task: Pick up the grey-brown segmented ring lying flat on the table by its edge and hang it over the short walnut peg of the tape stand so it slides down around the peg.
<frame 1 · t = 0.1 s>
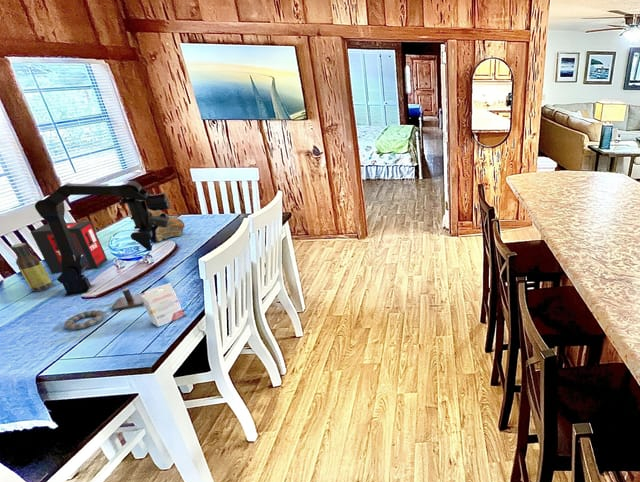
hand: (152, 246, 165), 15 cm above the table, tool pointing down, fingers open, 9 cm apart
rough brown rock: (168, 236, 211), on the table
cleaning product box: (80, 267, 178), on the table
sauce bottle: (42, 288, 161), on the table
ink cartridge box: (168, 320, 143), on the table
grey-brown segmented ring: (85, 319, 140), point 1 cm above the table
tape stand: (131, 302, 152), on the table
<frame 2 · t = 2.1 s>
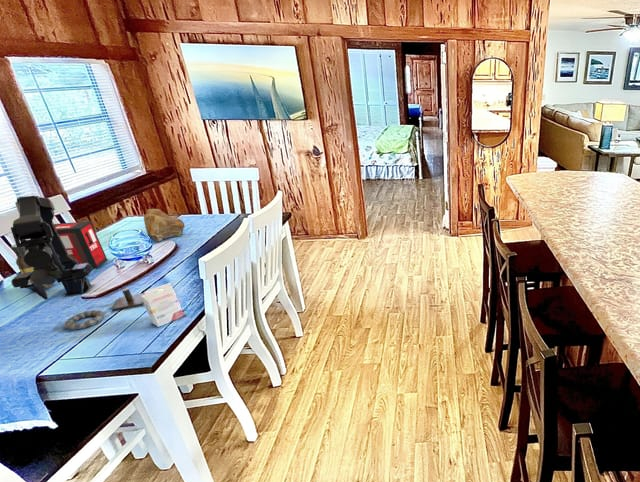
hand: (64, 296, 136), 11 cm above the table, tool pointing down, fingers open, 9 cm apart
nothing on the table moved.
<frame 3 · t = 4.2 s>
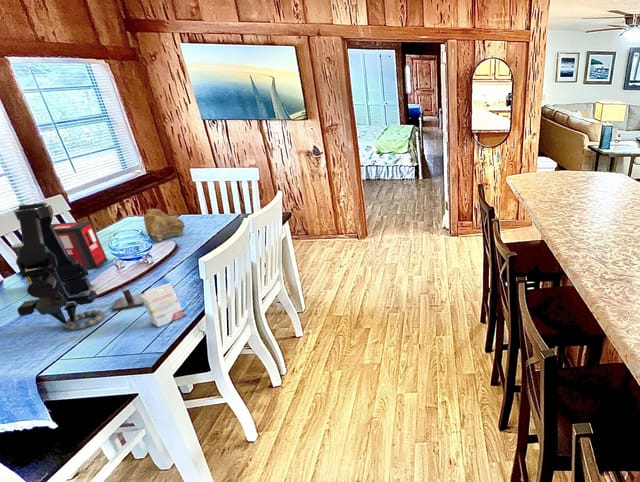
hand: (69, 322, 138), 1 cm above the table, tool pointing down, fingers closed on grey-brown segmented ring, 2 cm apart
grey-brown segmented ring: (85, 319, 140), point 1 cm above the table, touching gripper
everything else where it was.
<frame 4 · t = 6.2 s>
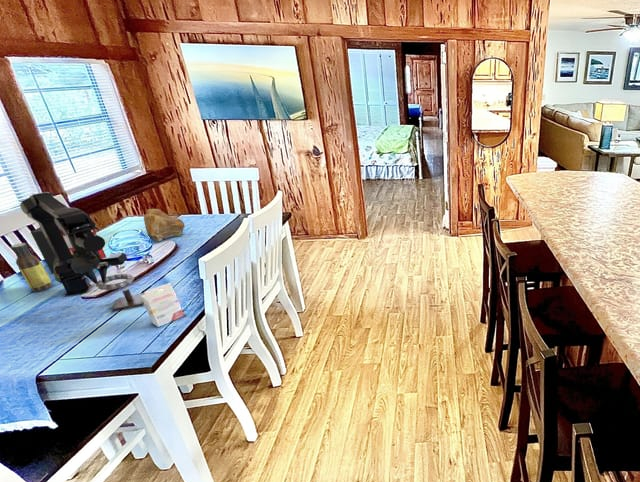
hand: (100, 283, 144), 11 cm above the table, tool pointing down, fingers closed on grey-brown segmented ring
grey-brown segmented ring: (115, 281, 146), point 10 cm above the table, touching gripper
everything else where it was.
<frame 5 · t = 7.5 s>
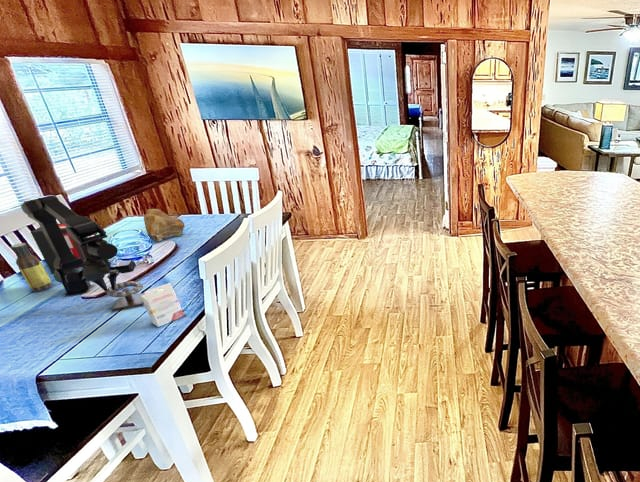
hand: (110, 290, 148), 7 cm above the table, tool pointing down, fingers closed on grey-brown segmented ring
grey-brown segmented ring: (125, 289, 150), point 6 cm above the table, tilted 7°, touching gripper
everything else where it was.
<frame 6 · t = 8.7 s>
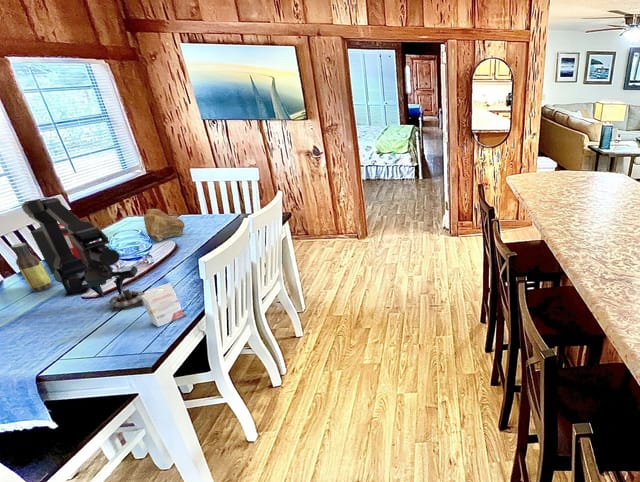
hand: (112, 295, 149), 5 cm above the table, tool pointing down, fingers open, 5 cm apart
grey-brown segmented ring: (127, 298, 151), point 2 cm above the table, touching tape stand
everything else where it was.
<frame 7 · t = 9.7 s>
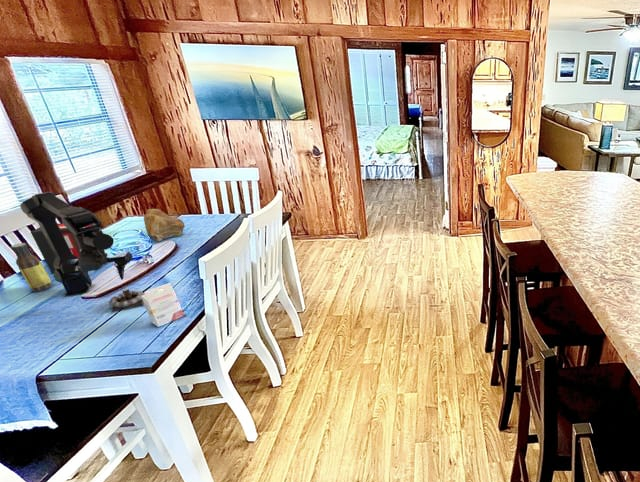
hand: (106, 281, 146), 10 cm above the table, tool pointing down, fingers open, 9 cm apart
nothing on the table moved.
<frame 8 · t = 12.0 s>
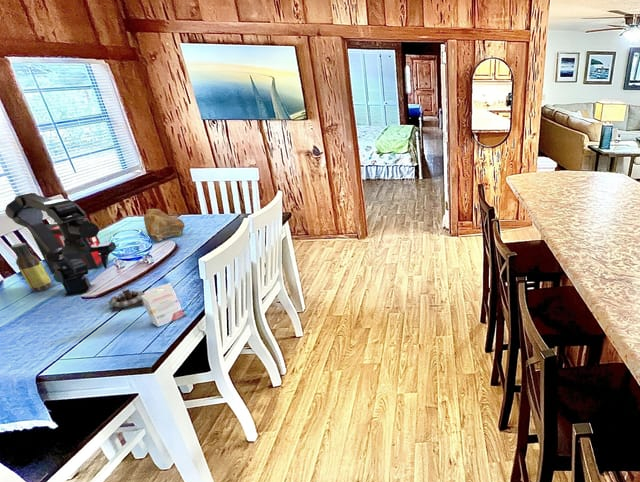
hand: (90, 270, 151), 12 cm above the table, tool pointing down, fingers open, 9 cm apart
nothing on the table moved.
at the end: grey-brown segmented ring 0.6 cm from the tape stand (horizontally); grey-brown segmented ring point 2.0 cm above the table; the gripper is holding nothing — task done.
